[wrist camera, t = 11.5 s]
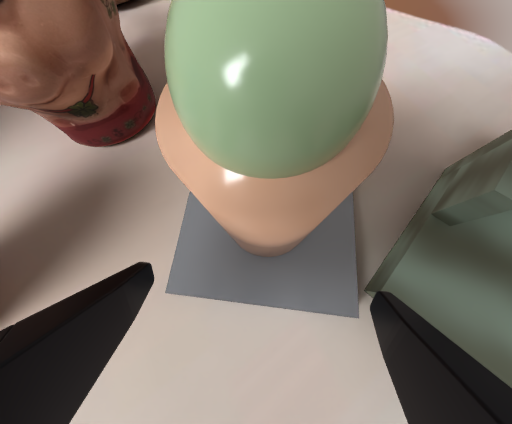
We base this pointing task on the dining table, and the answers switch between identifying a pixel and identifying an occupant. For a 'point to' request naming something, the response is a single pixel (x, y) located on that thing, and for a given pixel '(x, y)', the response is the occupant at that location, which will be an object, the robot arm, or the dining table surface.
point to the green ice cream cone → (274, 110)
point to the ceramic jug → (120, 1)
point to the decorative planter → (73, 69)
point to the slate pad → (269, 265)
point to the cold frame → (462, 257)
